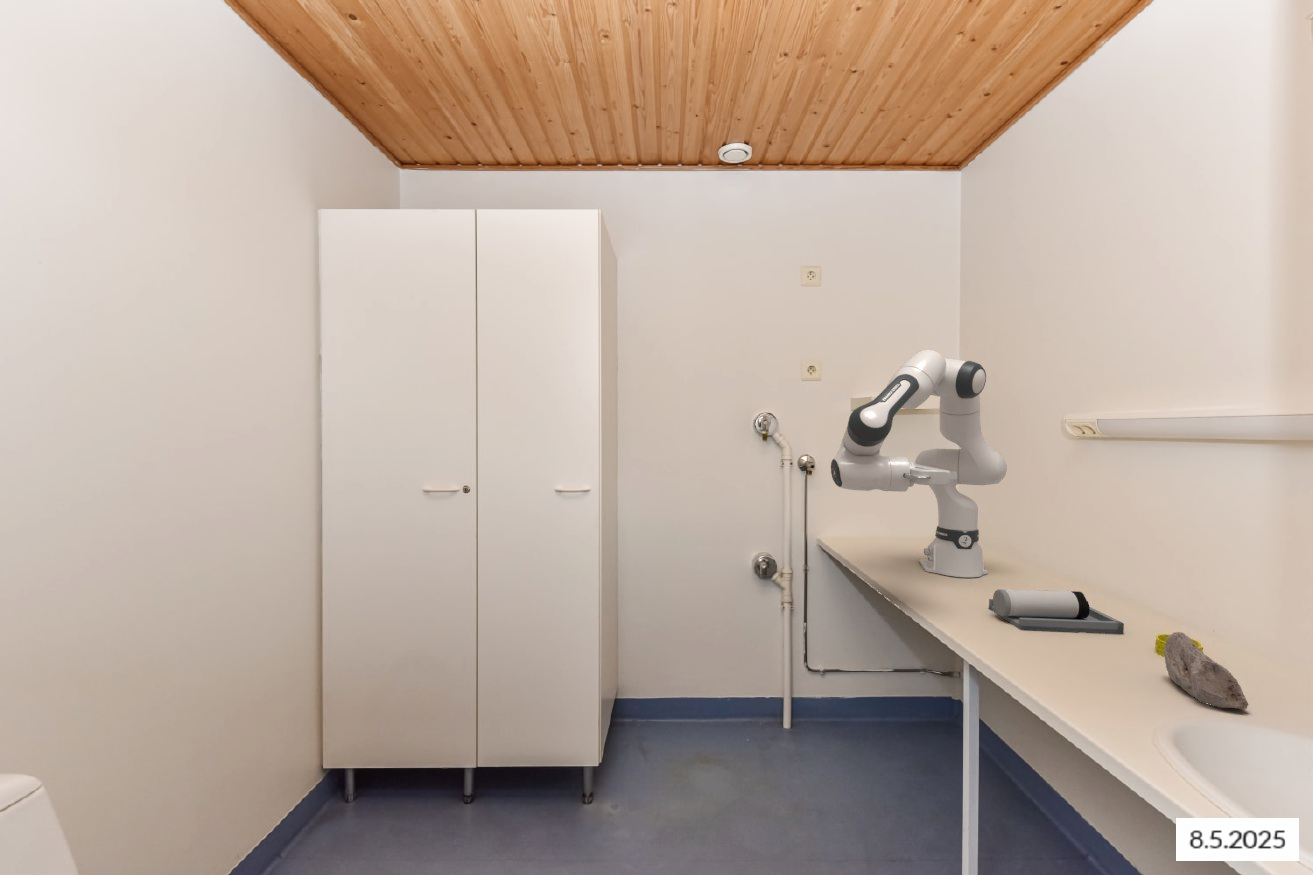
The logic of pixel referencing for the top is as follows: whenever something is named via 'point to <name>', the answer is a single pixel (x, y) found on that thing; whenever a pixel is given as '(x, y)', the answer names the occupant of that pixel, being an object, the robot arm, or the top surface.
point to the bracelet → (1161, 643)
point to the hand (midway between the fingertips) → (954, 475)
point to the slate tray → (1068, 623)
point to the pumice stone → (1201, 674)
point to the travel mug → (1040, 603)
